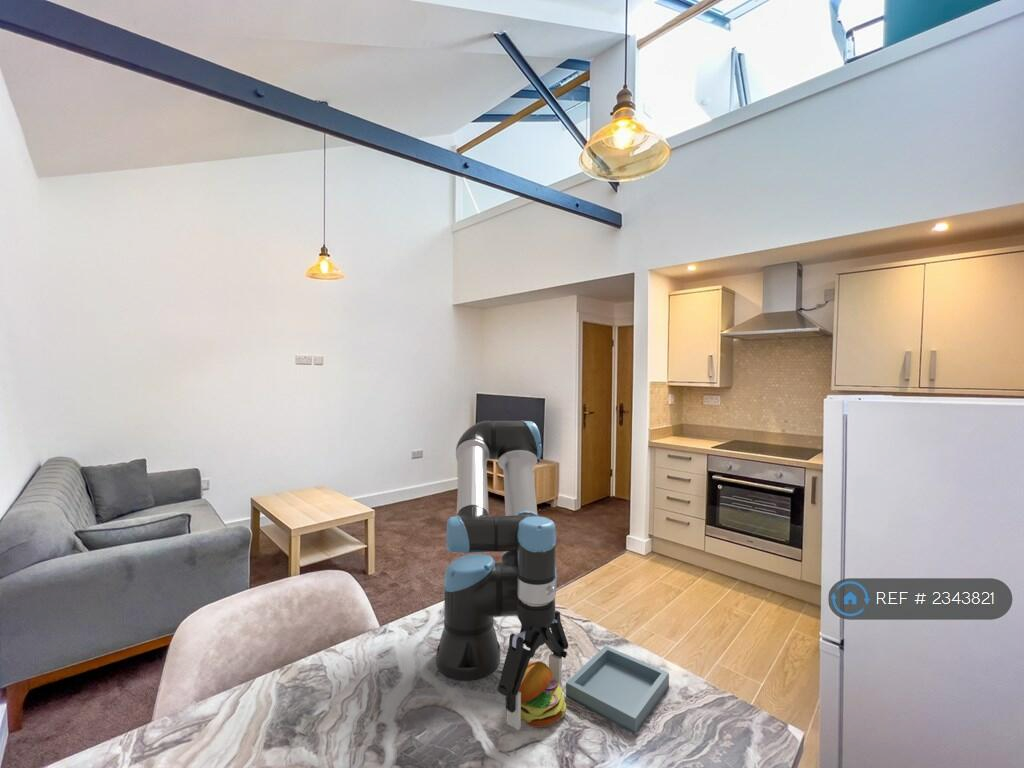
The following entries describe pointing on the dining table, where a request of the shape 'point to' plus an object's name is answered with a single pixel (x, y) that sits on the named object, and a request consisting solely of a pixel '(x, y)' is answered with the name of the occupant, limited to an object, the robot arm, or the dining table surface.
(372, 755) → the dining table surface
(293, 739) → the dining table surface
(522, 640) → the robot arm
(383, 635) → the dining table surface
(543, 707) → the cheeseburger
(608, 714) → the bin
